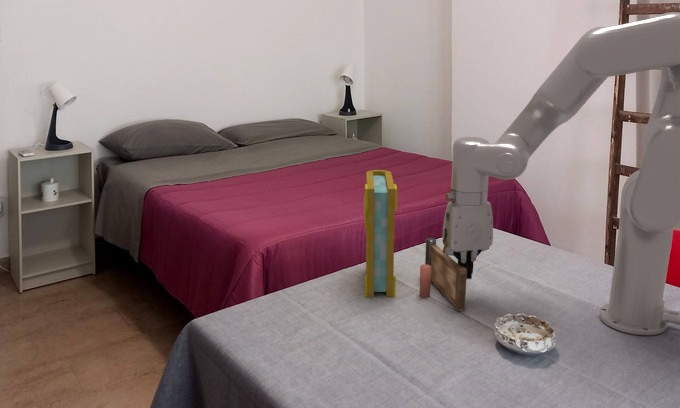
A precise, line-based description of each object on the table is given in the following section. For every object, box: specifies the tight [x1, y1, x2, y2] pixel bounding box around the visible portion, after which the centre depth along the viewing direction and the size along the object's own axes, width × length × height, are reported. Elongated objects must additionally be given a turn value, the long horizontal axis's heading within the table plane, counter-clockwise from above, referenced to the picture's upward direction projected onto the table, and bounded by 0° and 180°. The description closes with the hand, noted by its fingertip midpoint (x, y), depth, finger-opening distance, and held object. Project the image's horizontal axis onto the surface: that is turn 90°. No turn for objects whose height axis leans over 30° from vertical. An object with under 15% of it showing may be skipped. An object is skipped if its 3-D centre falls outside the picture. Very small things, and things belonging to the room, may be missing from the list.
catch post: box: [418, 263, 432, 299], centre depth 137 cm, size 2×2×7 cm
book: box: [363, 169, 398, 298], centre depth 142 cm, size 17×7×25 cm, turn 179°
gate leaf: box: [431, 244, 468, 312], centre depth 136 cm, size 16×2×9 cm, turn 14°
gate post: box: [424, 237, 437, 266], centre depth 145 cm, size 2×2×10 cm
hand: (464, 276), depth 135 cm, fingers closed
